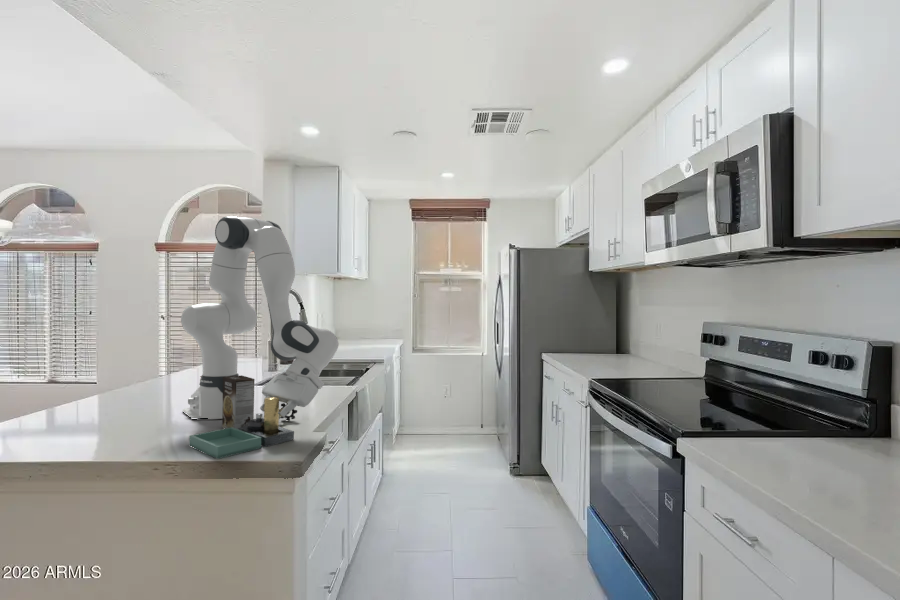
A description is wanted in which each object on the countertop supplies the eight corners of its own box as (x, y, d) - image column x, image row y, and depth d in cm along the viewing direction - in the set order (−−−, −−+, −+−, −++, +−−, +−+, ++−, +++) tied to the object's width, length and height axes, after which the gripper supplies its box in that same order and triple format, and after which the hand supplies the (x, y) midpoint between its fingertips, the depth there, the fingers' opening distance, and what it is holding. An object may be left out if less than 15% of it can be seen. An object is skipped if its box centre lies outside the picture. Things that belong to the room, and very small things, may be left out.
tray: (189, 446, 135) (189, 435, 135) (231, 437, 144) (232, 427, 144) (217, 458, 125) (217, 447, 125) (261, 448, 134) (261, 437, 134)
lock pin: (260, 440, 142) (261, 398, 142) (273, 437, 145) (274, 396, 145) (268, 443, 139) (269, 400, 139) (281, 440, 142) (281, 398, 142)
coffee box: (221, 428, 155) (221, 376, 155) (241, 424, 160) (242, 374, 160) (233, 433, 149) (234, 380, 149) (254, 429, 153) (255, 377, 153)
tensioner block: (237, 436, 145) (237, 414, 145) (265, 430, 152) (265, 409, 152) (265, 446, 136) (265, 423, 136) (293, 439, 143) (294, 417, 143)
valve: (275, 430, 153) (297, 421, 165) (275, 409, 153) (297, 401, 165) (257, 428, 155) (280, 419, 167) (257, 407, 155) (280, 400, 167)
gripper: (275, 365, 155) (245, 401, 147) (315, 372, 142) (284, 411, 134) (287, 378, 158) (259, 413, 150) (327, 385, 145) (298, 424, 138)
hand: (271, 412), depth 142 cm, fingers open, 8 cm apart
